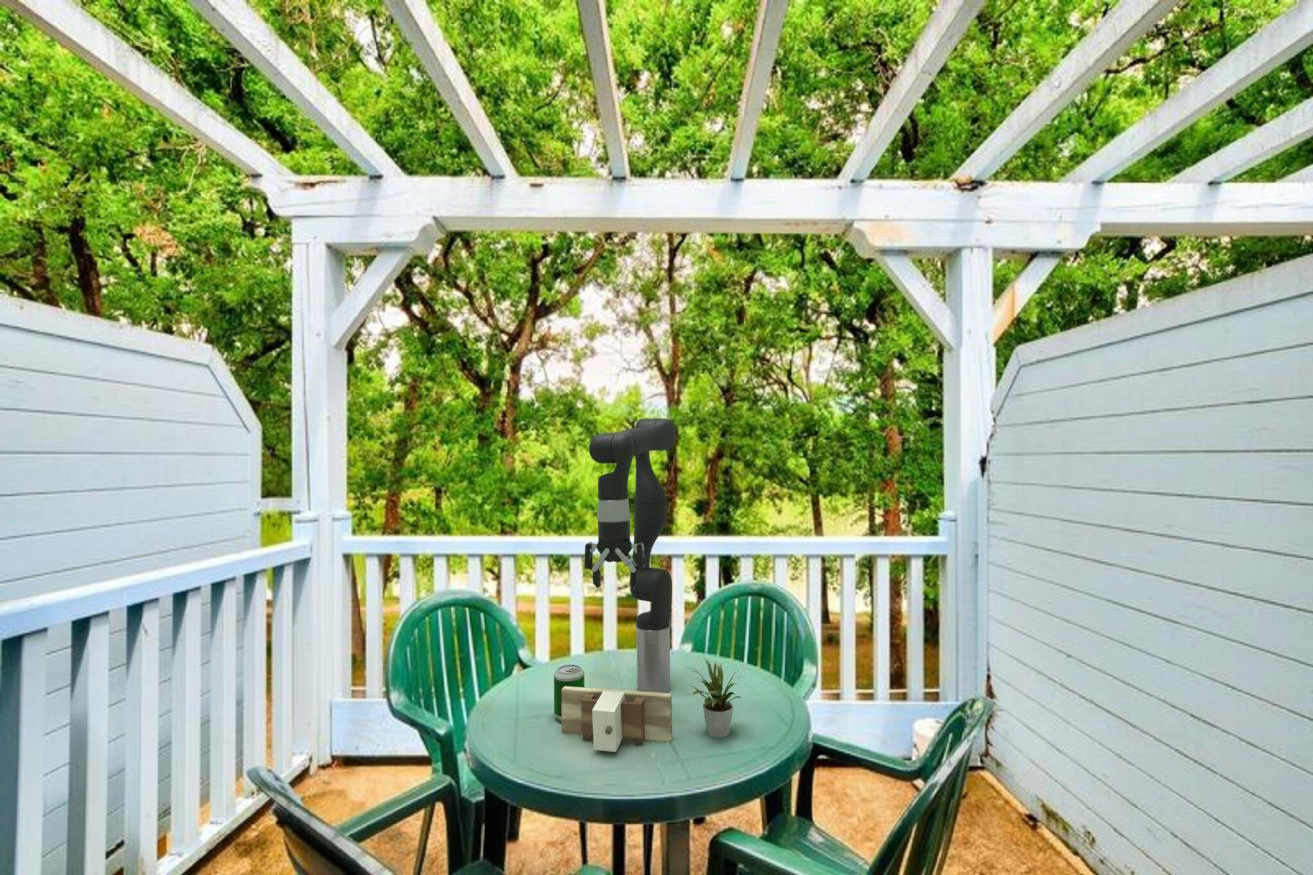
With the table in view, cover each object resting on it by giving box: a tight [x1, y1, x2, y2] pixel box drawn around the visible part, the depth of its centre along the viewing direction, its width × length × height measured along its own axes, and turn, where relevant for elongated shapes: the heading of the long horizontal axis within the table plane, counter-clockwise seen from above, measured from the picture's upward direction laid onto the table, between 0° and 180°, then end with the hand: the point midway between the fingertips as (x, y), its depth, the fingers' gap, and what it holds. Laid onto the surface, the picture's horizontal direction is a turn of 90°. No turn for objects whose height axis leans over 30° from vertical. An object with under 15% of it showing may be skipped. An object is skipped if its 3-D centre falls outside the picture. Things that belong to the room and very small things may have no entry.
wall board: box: [561, 686, 673, 746], centre depth 137 cm, size 5×26×10 cm, turn 78°
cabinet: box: [592, 691, 625, 753], centre depth 133 cm, size 9×5×9 cm, turn 168°
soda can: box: [553, 664, 586, 723], centre depth 148 cm, size 8×8×12 cm
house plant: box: [684, 657, 743, 739], centre depth 140 cm, size 14×14×16 cm
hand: (615, 587), depth 140 cm, fingers open, 8 cm apart
